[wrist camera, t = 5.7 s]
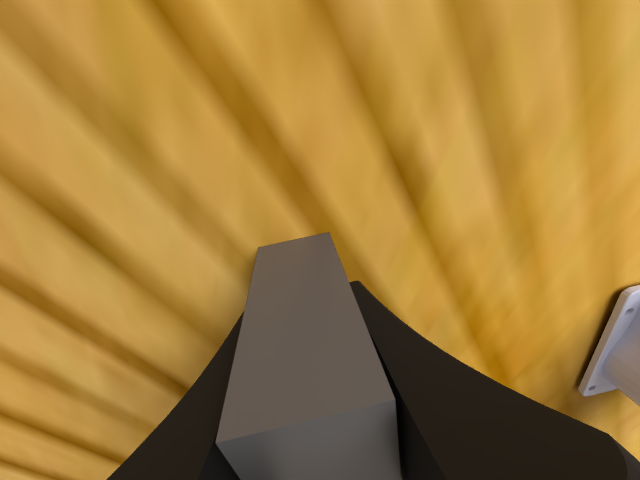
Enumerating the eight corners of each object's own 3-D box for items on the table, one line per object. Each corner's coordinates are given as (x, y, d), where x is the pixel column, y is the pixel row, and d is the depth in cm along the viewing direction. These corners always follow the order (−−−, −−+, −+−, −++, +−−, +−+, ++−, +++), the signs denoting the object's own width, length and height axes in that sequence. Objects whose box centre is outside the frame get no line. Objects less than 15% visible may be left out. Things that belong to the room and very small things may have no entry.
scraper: (222, 255, 10) (122, 465, 4) (364, 224, 10) (481, 378, 4) (316, 484, 19) (330, 657, 13) (390, 466, 20) (439, 627, 13)
